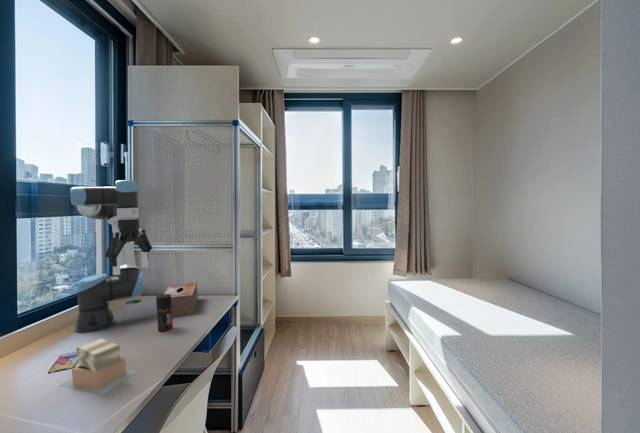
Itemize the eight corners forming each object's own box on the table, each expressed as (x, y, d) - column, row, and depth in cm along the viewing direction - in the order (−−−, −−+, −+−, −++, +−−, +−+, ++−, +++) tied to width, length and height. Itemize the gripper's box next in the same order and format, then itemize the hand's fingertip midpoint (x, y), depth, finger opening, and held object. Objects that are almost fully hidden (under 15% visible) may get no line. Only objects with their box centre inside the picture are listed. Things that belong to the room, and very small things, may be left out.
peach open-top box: (72, 384, 100) (71, 369, 100) (102, 368, 110) (101, 354, 109) (97, 389, 97) (96, 372, 97) (126, 372, 107) (125, 357, 106)
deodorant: (167, 332, 140) (165, 298, 139) (154, 331, 141) (152, 297, 141) (175, 327, 146) (173, 294, 145) (164, 326, 147) (162, 293, 146)
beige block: (77, 363, 103) (76, 346, 103) (101, 354, 109) (100, 338, 109) (96, 372, 97) (95, 354, 97) (120, 362, 103) (119, 345, 103)
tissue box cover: (170, 303, 183) (169, 285, 182) (197, 300, 187) (196, 283, 186) (161, 318, 158) (160, 298, 158) (193, 314, 162) (192, 295, 162)
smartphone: (84, 350, 124) (74, 367, 110) (84, 352, 124) (74, 370, 111) (60, 354, 121) (46, 373, 107) (60, 357, 121) (47, 375, 107)
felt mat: (58, 387, 100) (58, 385, 100) (98, 366, 112) (98, 364, 112) (103, 395, 95) (103, 393, 95) (139, 372, 107) (139, 371, 107)
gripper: (107, 220, 118) (110, 278, 119) (159, 216, 142) (162, 264, 143) (91, 221, 120) (95, 277, 121) (145, 217, 144) (148, 264, 145)
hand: (131, 270), depth 132 cm, fingers open, 13 cm apart
